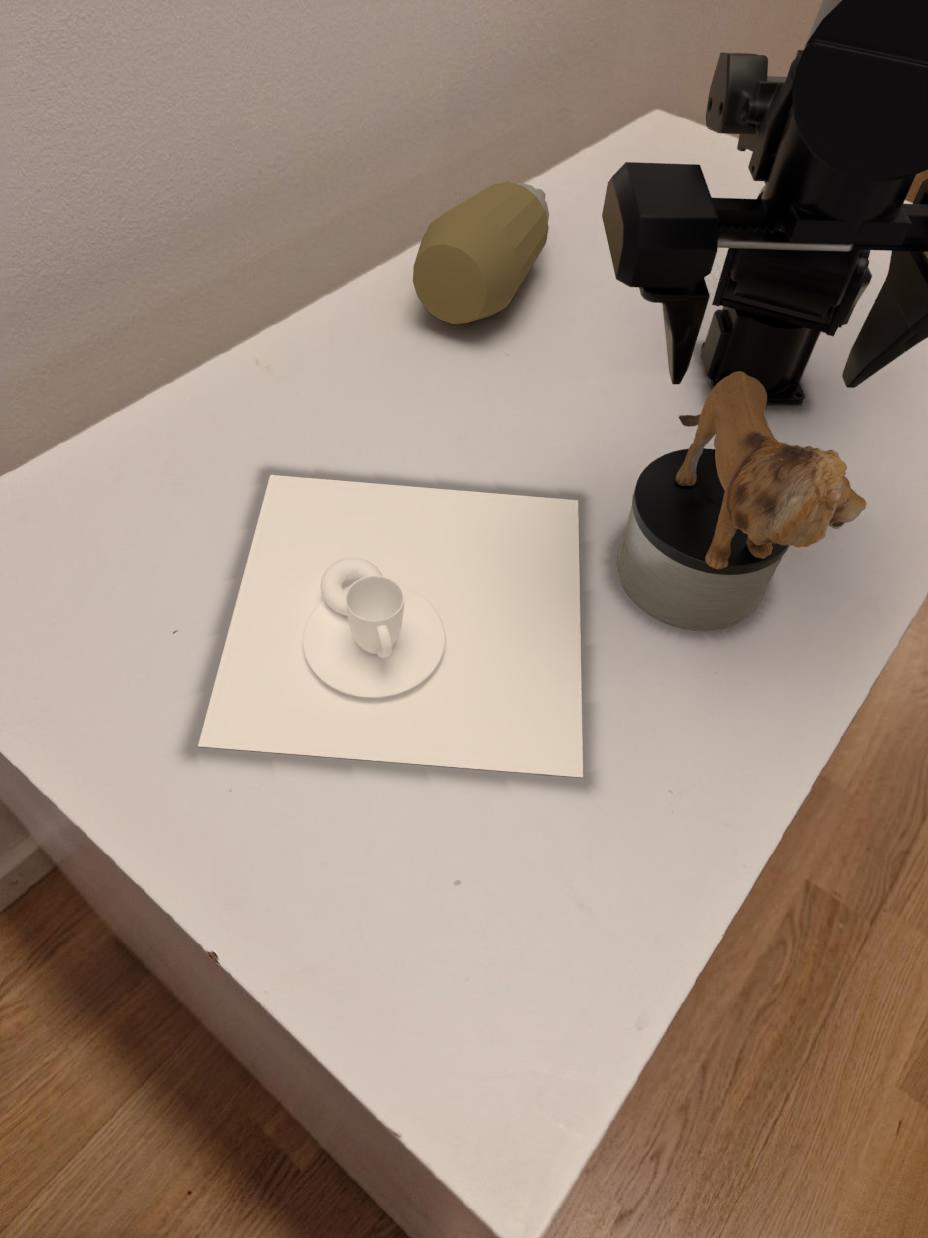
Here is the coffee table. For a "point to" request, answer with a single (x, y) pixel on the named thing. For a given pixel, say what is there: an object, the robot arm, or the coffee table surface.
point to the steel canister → (688, 550)
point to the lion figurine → (765, 476)
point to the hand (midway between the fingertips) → (761, 380)
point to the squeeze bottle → (481, 252)
